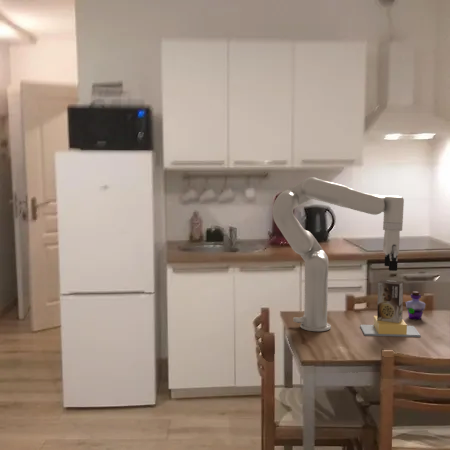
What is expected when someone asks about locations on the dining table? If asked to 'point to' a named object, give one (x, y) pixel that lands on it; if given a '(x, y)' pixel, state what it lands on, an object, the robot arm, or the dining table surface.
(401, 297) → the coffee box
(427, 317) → the dining table surface
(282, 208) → the robot arm
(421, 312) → the potion bottle
